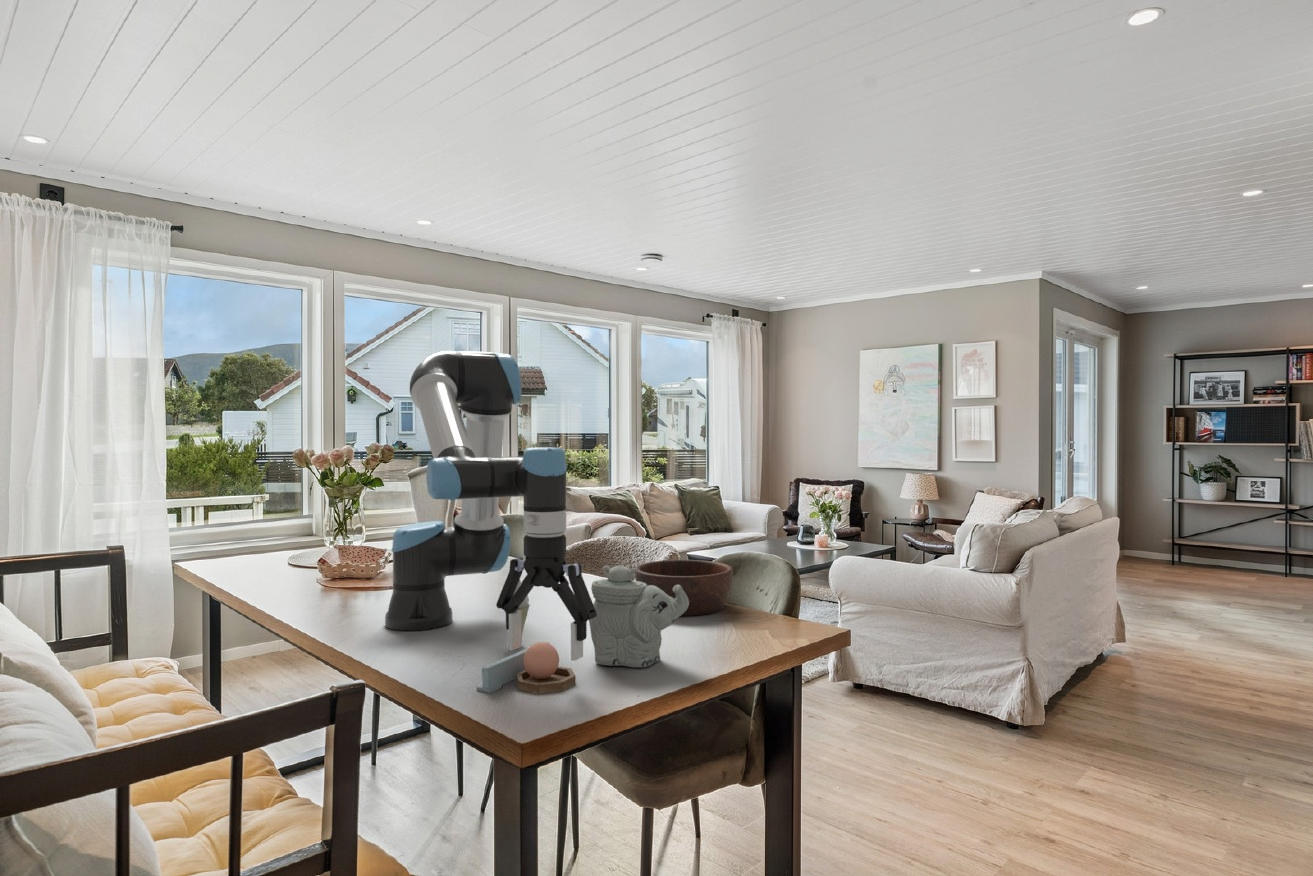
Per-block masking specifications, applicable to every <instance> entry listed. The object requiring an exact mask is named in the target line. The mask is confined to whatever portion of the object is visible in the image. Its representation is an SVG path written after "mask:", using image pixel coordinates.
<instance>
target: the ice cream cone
mask: <svg viewBox="0 0 1313 876" xmlns="http://www.w3.org/2000/svg"><path fill="white" fill-rule="evenodd" d="M521 584H522V581H521V579H520V580H519V582H518V585H517V587H516V589H515V592H514V594H515V593H516V591H517V590H518V588H519V587H520V586H521ZM514 594H513V595H514ZM530 606H531V604H530V598H529V594H528V595H527V596H526V598H525V599H524V601H523V602H522V603H521V605H520V606H519V608H520V609H518V610H516V611H521V637H523V636H522V635H523V632H524V628H525V624H526V621H527V617H528V612H529V609H530Z"/></svg>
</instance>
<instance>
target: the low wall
mask: <svg viewBox="0 0 1313 876" xmlns="http://www.w3.org/2000/svg"><path fill="white" fill-rule="evenodd" d="M545 642H546V643H549V644H550V642H548V641H545ZM528 648H529V647H528ZM528 648H525V649H523V650H520V651H518V652H515V653H513V654H511V655H508V656H506V657H503V658H502V659H498V660H496V661H495V662H492V663H490V664H487V665H483V666H482V667H481V668H482V669H481V670H482V672H481V673H482V674H481V675H482V676H481V677H482V681H481V682H482V684H480V685H477V686H476V691H478V692H483V693H489V694H491V693H494V692H496V691H497V690H499V689H502V685H504V684H506V683H507V684H508V683H509V682H511V681H513V680H516V674H517V673H519V672H521V671H524V670H525V668H524V664H523V659H524V655H525V653H526V651H527V649H528Z"/></svg>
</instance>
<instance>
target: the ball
mask: <svg viewBox="0 0 1313 876" xmlns="http://www.w3.org/2000/svg"><path fill="white" fill-rule="evenodd" d="M546 642H547V641H543V642H542V641H540V642H535V643H533V644H531V645H530V646H529V647H528V649H527V648H526V649H527V651H526V653H525V655H524V659H523V664H524V668H525V670H526V672H527V673H528V674H529V675H530V676H531V677H533V678H536V679H545V678H548V677H550V676H551V675H553V674H554V673H555V671H556V670H557V668H558V666H559V664H560V655H559V652H558V651H557V649H556V647H554V646H553V645H552V644H551V643H550V642H549V643H546Z"/></svg>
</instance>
